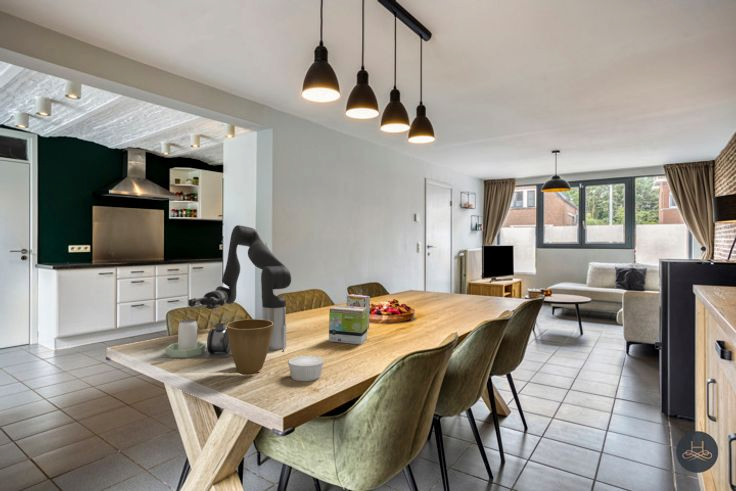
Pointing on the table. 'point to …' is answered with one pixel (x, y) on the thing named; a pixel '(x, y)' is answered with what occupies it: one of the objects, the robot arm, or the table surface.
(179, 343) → the can
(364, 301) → the candy bar box
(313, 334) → the table surface
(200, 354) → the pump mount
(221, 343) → the cylinder
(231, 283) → the robot arm
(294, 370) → the ramekin
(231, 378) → the table surface
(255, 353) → the plant pot
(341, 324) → the tea box
